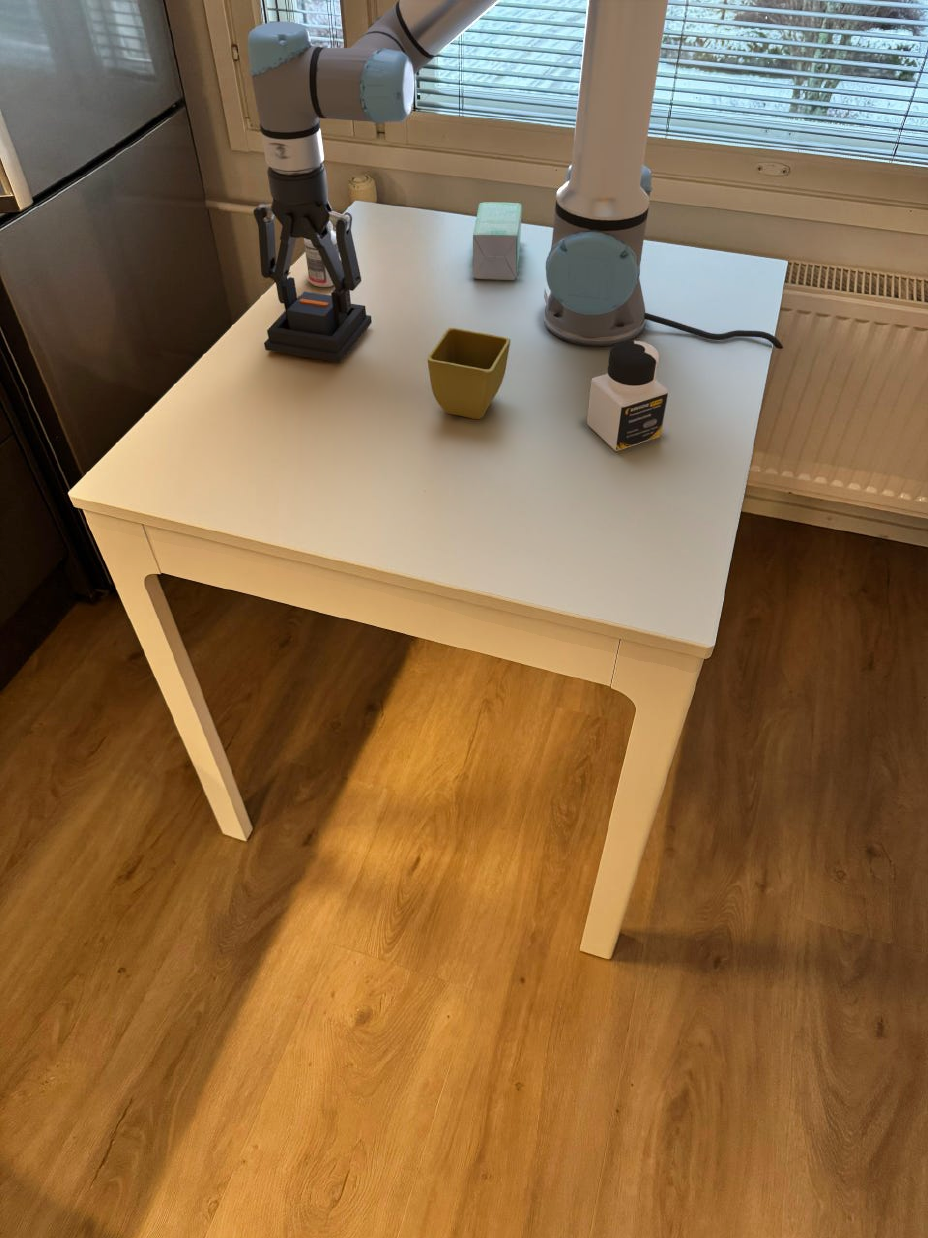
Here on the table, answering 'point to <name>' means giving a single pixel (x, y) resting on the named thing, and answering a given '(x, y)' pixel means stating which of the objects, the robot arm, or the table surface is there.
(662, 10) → the robot arm
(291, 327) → the dark grey square block
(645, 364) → the medicine bottle
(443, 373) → the flower pot
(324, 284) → the pill bottle
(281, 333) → the base pad
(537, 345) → the table surface
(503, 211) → the box
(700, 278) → the table surface
